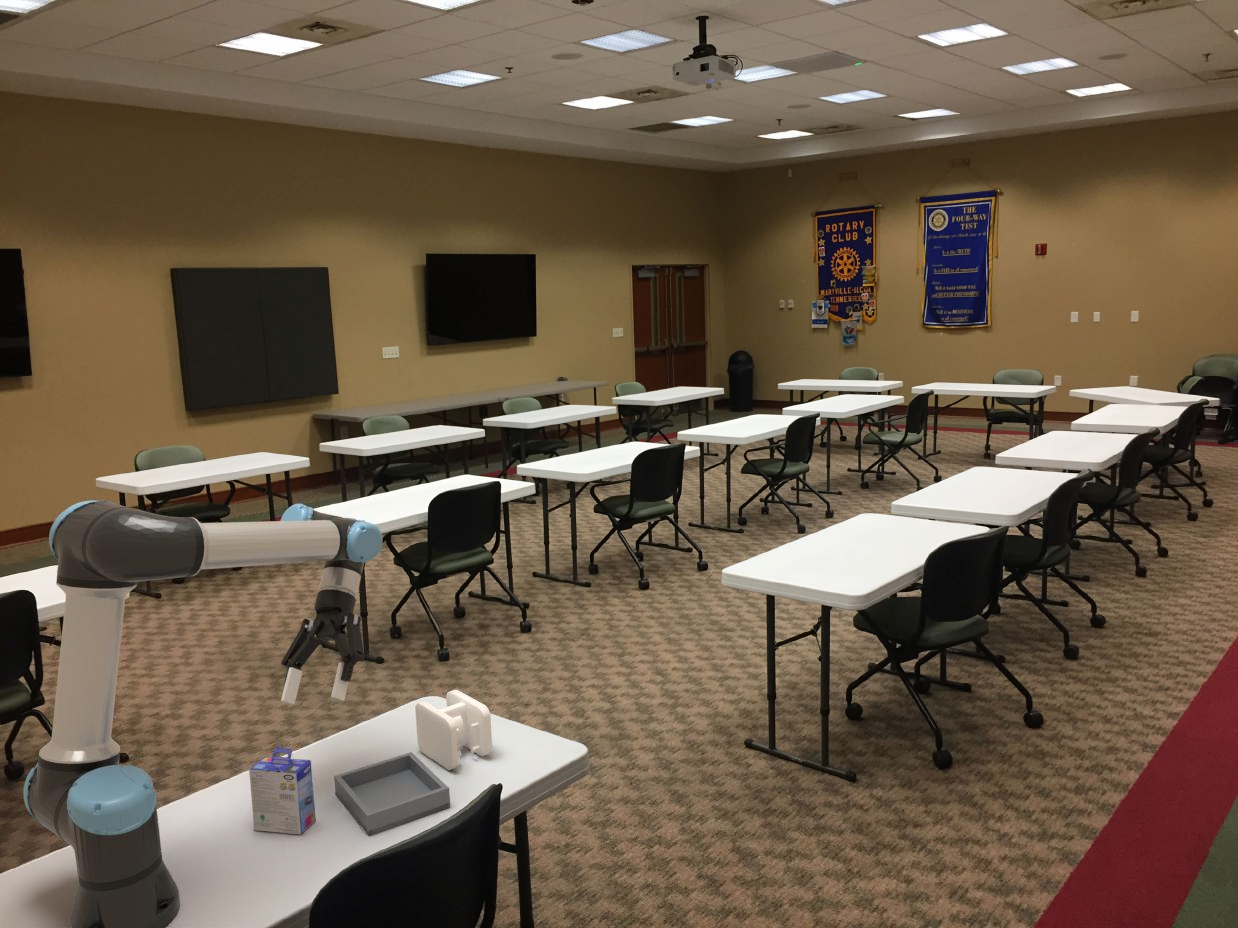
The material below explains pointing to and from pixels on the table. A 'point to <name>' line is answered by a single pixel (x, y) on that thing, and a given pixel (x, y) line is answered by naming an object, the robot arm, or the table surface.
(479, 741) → the cable organizer
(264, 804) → the ink cartridge box
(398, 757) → the tray
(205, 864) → the table surface
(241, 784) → the table surface
